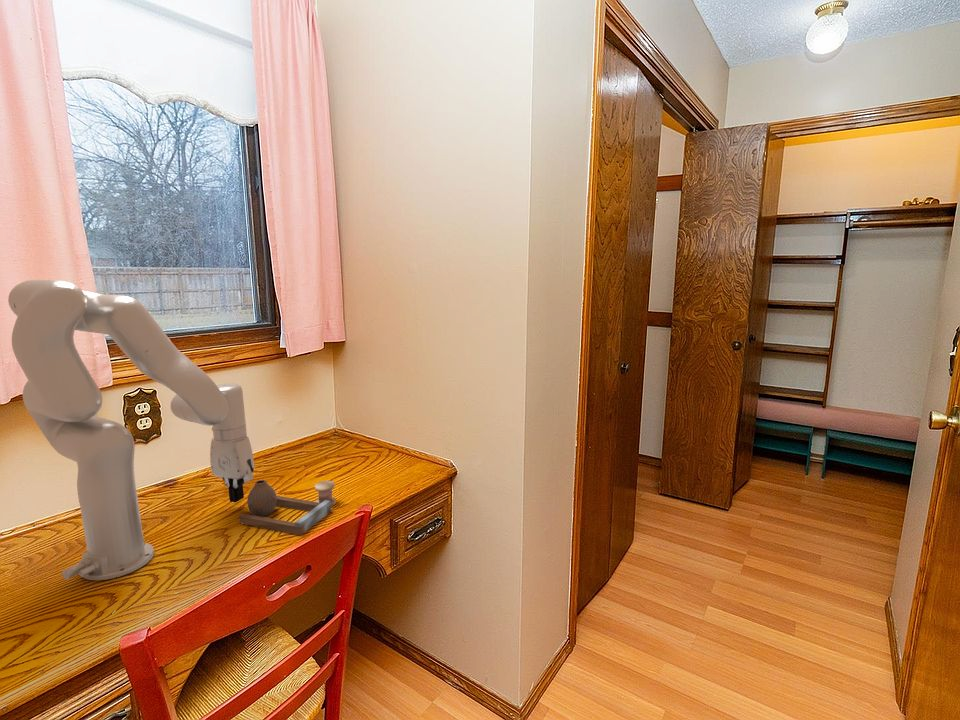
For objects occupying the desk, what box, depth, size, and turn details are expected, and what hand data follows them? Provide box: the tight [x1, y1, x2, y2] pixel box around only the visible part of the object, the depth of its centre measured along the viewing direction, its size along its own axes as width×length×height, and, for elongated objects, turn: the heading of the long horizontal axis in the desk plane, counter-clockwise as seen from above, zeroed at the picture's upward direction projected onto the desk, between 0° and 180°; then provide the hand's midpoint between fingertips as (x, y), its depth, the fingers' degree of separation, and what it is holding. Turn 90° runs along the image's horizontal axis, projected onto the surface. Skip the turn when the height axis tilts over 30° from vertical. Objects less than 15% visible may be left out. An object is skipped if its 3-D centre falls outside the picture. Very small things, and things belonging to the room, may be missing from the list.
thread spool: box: [314, 480, 337, 507], centre depth 131 cm, size 5×5×5 cm
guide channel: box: [238, 495, 332, 536], centre depth 123 cm, size 12×18×3 cm, turn 72°
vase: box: [246, 479, 278, 517], centre depth 125 cm, size 7×7×9 cm
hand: (237, 499), depth 128 cm, fingers closed
